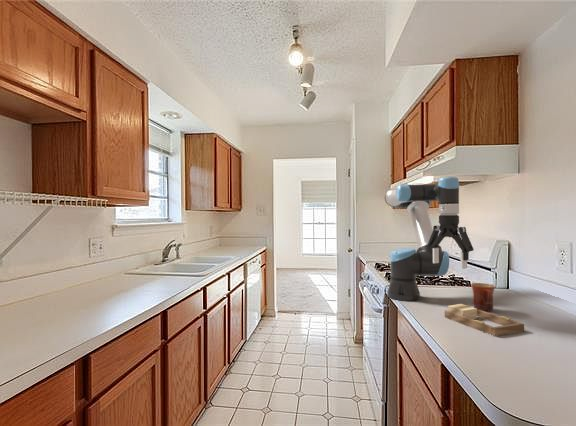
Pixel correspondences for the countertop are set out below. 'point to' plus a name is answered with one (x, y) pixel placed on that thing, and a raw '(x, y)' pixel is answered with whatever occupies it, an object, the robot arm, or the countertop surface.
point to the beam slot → (508, 324)
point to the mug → (483, 296)
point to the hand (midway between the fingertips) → (449, 265)
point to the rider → (463, 310)
